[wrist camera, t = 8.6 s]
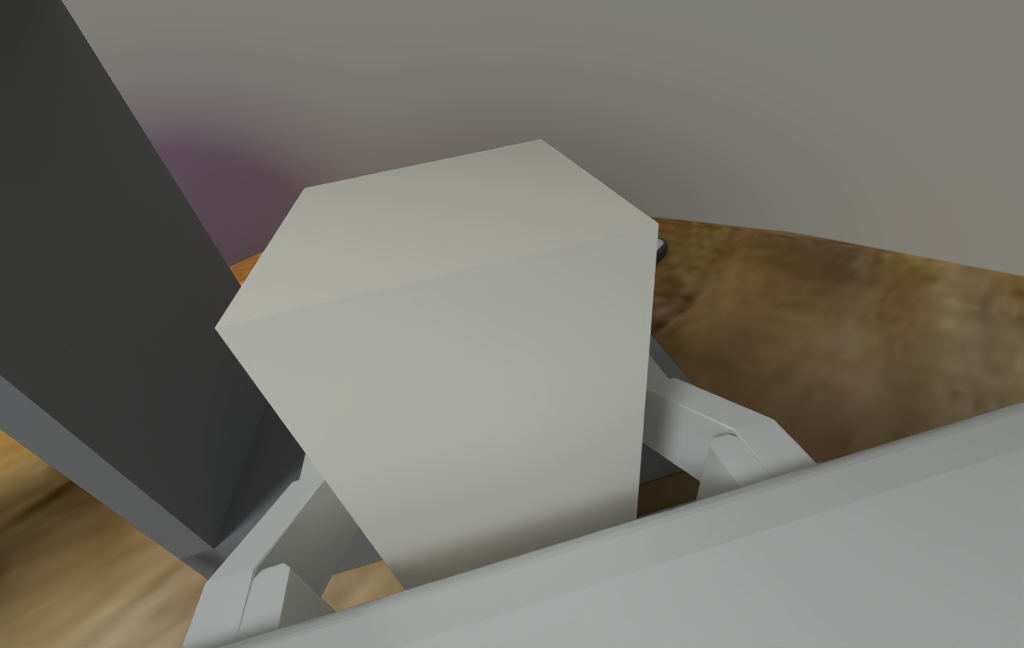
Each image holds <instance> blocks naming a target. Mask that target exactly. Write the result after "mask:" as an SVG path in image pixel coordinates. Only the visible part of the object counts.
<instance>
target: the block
mask: <svg viewBox="0 0 1024 648" xmlns="http://www.w3.org/2000/svg"><path fill="white" fill-rule="evenodd" d="M658 227H659V224H658V223H657V222H656V221H654V220H653V219H651V218H650V217H649V216H647V215H646V214H644V213H643V212H642V211H640V210H639V209H637V208H636V207H635V206H633V205H632V204H631V203H629V202H628V201H626V200H625V199H624V198H622V197H621V196H619V195H618V194H617V193H615V192H614V191H613V190H611V189H610V188H608V187H607V186H606V185H604V184H603V183H601V182H600V181H599V180H597V179H596V178H594V177H593V176H592V175H590V174H589V173H587V172H586V171H585V170H583V169H582V168H581V167H579V166H578V165H576V164H575V163H573V162H572V161H571V160H569V159H568V158H566V157H565V156H564V155H562V154H561V153H560V152H558V151H557V150H556V149H554V148H553V147H551V146H550V145H548V144H547V143H546V142H544V141H543V140H542V139H539V140H535V141H529V142H525V143H520V144H515V145H510V146H506V147H501V148H496V149H491V150H486V151H481V152H477V153H472V154H467V155H462V156H457V157H453V158H448V159H443V160H438V161H434V162H429V163H424V164H419V165H414V166H410V167H404V168H400V169H395V170H390V171H385V172H380V173H376V174H371V175H366V176H361V177H356V178H352V179H347V180H342V181H337V182H332V183H328V184H323V185H318V186H313V187H308V188H304V190H303V192H302V193H301V195H300V196H299V198H298V199H297V201H296V202H295V204H294V206H293V207H292V209H291V210H290V212H289V214H288V215H287V217H286V218H285V220H284V221H283V223H282V224H281V226H280V227H279V229H278V230H277V232H276V234H275V235H274V237H273V238H272V240H271V241H270V243H269V244H268V246H267V248H266V249H265V251H264V252H263V254H262V255H261V257H260V258H259V260H258V262H257V263H256V265H255V266H254V268H253V269H252V271H251V272H250V274H249V275H248V277H247V279H246V280H245V282H244V283H243V285H242V286H241V288H240V289H239V291H238V293H237V294H236V296H235V297H234V299H233V300H232V302H231V303H230V305H229V307H228V308H227V310H226V311H225V313H224V314H223V316H222V317H221V319H220V321H219V322H218V324H217V325H216V327H215V329H216V331H217V332H218V333H219V335H220V336H221V337H222V339H223V340H224V342H225V343H226V344H227V346H228V347H229V348H230V350H231V351H232V353H233V354H234V355H235V357H236V358H237V359H238V361H239V362H240V364H241V365H242V366H243V368H244V369H245V370H246V372H247V373H248V375H249V376H250V377H251V379H252V380H253V381H254V383H255V384H256V386H257V387H258V388H259V390H260V391H261V392H262V394H263V395H264V397H265V398H266V399H267V401H268V402H269V403H270V405H271V406H272V408H273V409H274V410H275V412H276V413H277V414H278V416H279V417H280V419H281V420H282V421H283V423H284V424H285V425H286V427H287V428H288V430H289V431H290V432H291V434H292V435H293V436H294V438H295V439H296V441H297V442H298V443H299V445H300V446H301V447H302V449H303V450H304V452H305V453H306V454H307V456H308V457H309V459H310V460H311V461H312V463H313V464H314V465H315V467H316V468H317V470H318V471H319V472H320V474H321V475H322V476H323V478H324V479H325V481H326V482H327V483H328V485H329V486H330V487H331V489H332V490H333V492H334V493H335V494H336V496H337V497H338V498H339V500H340V501H341V503H342V504H343V505H344V507H345V508H346V509H347V511H348V512H349V514H350V515H351V516H352V518H353V519H354V520H355V522H356V523H357V525H358V526H359V527H360V529H361V530H362V531H363V533H364V534H365V536H366V537H367V538H368V540H369V541H370V542H371V544H372V545H373V547H374V548H375V549H376V551H377V552H378V553H379V555H380V556H381V558H382V559H383V560H384V562H385V563H386V564H387V566H388V567H389V569H390V570H391V571H392V573H393V574H394V575H395V577H396V578H397V580H398V581H399V582H400V584H401V585H402V586H403V588H404V589H405V590H409V589H412V588H415V587H419V586H422V585H425V584H428V583H432V582H435V581H438V580H441V579H445V578H448V577H451V576H454V575H458V574H461V573H464V572H467V571H471V570H474V569H477V568H481V567H484V566H487V565H490V564H494V563H497V562H500V561H503V560H507V559H510V558H513V557H516V556H520V555H523V554H526V553H529V552H533V551H536V550H539V549H542V548H546V547H549V546H552V545H555V544H559V543H562V542H565V541H569V540H572V539H575V538H578V537H582V536H585V535H588V534H591V533H595V532H598V531H601V530H604V529H608V528H611V527H614V526H618V525H621V524H624V523H627V522H631V521H634V520H636V517H637V504H638V491H639V478H640V464H641V451H642V438H643V425H644V412H645V398H646V385H647V372H648V359H649V346H650V333H651V319H652V306H653V293H654V280H655V267H656V253H657V240H658Z"/></svg>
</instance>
